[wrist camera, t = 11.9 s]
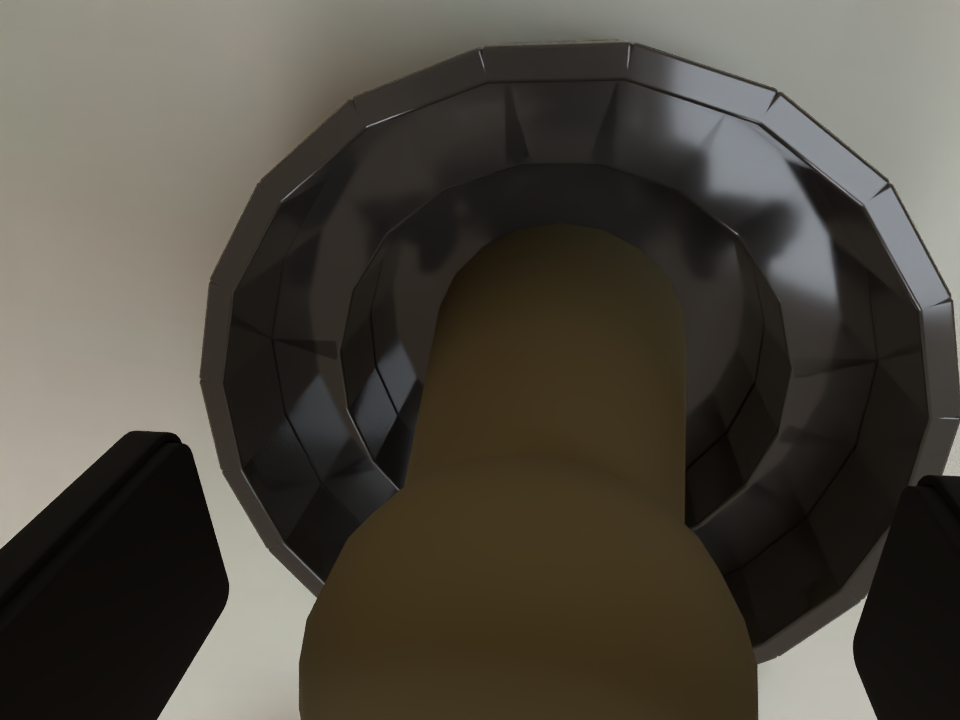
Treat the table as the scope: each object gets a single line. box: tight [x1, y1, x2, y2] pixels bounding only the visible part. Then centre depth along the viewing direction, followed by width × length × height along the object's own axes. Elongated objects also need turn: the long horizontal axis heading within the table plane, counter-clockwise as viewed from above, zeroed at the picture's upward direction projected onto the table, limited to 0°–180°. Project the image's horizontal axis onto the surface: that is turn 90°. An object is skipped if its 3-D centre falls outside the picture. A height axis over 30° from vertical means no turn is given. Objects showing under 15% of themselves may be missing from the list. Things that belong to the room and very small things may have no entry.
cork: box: [299, 223, 758, 720], centre depth 11 cm, size 6×6×11 cm
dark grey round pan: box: [200, 40, 960, 664], centre depth 14 cm, size 13×13×5 cm
